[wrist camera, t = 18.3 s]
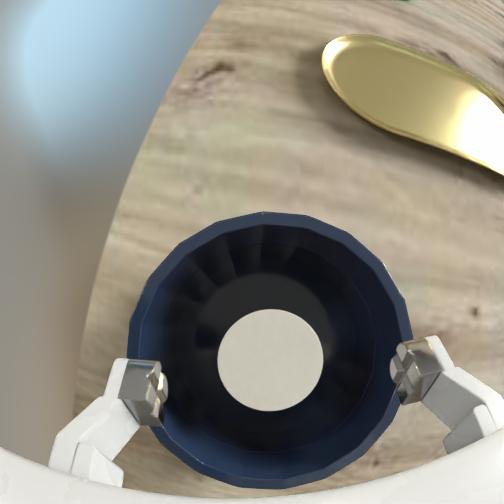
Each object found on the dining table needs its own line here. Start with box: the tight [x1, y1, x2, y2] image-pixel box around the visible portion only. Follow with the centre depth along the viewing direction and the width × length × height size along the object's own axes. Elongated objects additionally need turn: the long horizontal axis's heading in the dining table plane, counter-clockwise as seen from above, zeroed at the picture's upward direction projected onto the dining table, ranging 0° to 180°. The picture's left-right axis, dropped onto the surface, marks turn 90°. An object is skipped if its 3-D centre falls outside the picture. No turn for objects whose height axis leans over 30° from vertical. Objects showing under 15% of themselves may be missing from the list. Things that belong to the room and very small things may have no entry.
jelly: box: [217, 309, 323, 411], centre depth 20 cm, size 6×6×8 cm
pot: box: [127, 211, 413, 489], centre depth 20 cm, size 17×17×9 cm
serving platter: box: [321, 34, 504, 177], centre depth 30 cm, size 19×35×2 cm, turn 79°
